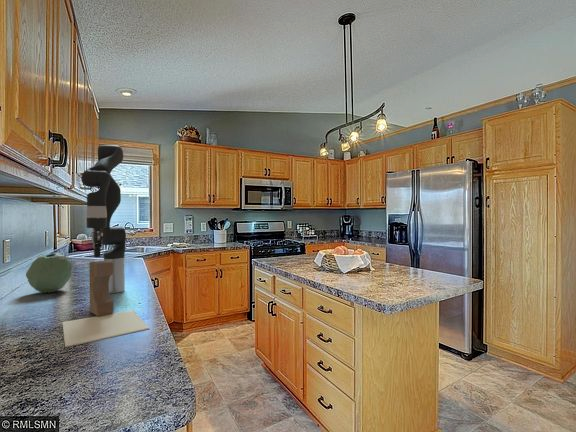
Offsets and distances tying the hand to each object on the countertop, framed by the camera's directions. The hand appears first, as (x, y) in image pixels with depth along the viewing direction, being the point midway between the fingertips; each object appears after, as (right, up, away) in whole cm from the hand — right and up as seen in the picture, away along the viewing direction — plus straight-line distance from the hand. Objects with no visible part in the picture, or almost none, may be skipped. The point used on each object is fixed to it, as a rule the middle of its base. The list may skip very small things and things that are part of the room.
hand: (97, 257), depth 131 cm
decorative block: (+9, -21, -11) cm, 25 cm away
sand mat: (+18, -21, -25) cm, 37 cm away
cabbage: (-40, -22, +25) cm, 51 cm away
